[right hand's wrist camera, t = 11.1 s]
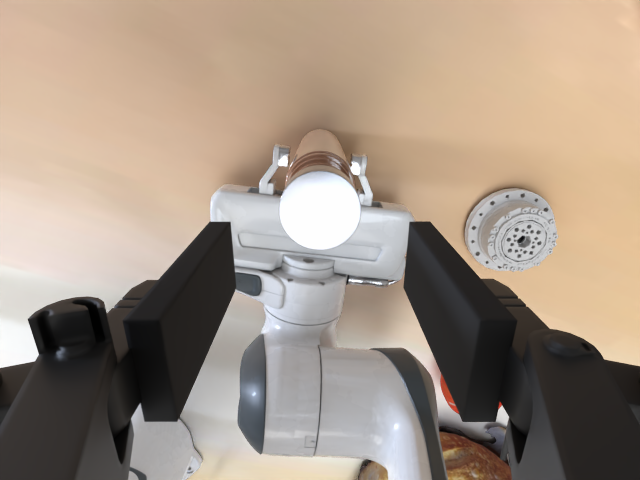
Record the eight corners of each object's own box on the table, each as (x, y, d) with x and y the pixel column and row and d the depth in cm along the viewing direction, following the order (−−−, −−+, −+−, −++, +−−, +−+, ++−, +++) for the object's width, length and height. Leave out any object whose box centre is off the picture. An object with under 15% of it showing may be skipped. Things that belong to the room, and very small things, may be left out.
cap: (331, 149, 20) (332, 153, 19) (372, 213, 21) (376, 222, 20) (266, 192, 21) (261, 200, 19) (309, 252, 22) (309, 264, 21)
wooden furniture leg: (326, 120, 41) (333, 147, 19) (349, 157, 42) (380, 221, 20) (290, 144, 42) (257, 197, 20) (314, 180, 43) (308, 265, 21)
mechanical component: (454, 261, 46) (532, 270, 47) (467, 277, 42) (552, 287, 43) (476, 182, 43) (560, 193, 43) (492, 191, 39) (585, 203, 39)
